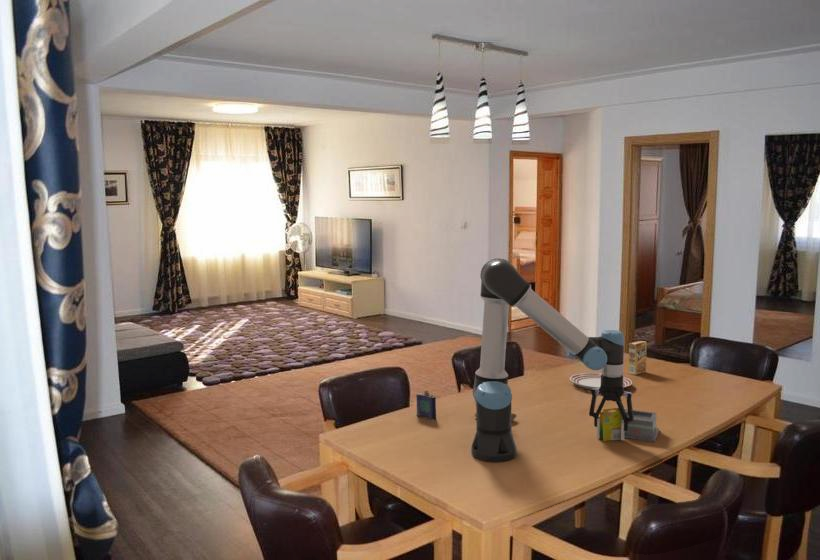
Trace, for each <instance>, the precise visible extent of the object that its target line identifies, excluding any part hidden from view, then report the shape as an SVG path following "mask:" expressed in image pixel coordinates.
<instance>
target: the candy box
mask: <svg viewBox="0 0 820 560" xmlns="http://www.w3.org/2000/svg"><path fill="white" fill-rule="evenodd" d="M647 344H648V343H647V341H643V340H637V341H632V342H629V343H628V374H630V375H639V374H643V373H646V372H647Z"/></svg>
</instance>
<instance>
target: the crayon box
mask: <svg viewBox="0 0 820 560" xmlns="http://www.w3.org/2000/svg"><path fill="white" fill-rule="evenodd" d="M599 417H600V436H599V439H600V440H601V441H602V442H607V441H609V442H610V441H618V440H620V441H622V440H621V422H622V415H621V413H620V410H619V408H618V407H614V408H613V407H612V408H602V411H601V412H600V414H599Z"/></svg>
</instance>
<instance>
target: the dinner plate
mask: <svg viewBox="0 0 820 560" xmlns="http://www.w3.org/2000/svg"><path fill="white" fill-rule="evenodd" d="M601 375H602V373H601V372H583V373H581V372H580V373H576V374H572V375H571V376H570V377H569V380H570V381H571V382H572V383H573V384H574V385H577V386H579V387H581V388H583V389H586V390H590V391H591V390H592V389H593V388H596V389H597V388H600V386H601ZM632 381H633V380H631V379H630V378H627V377H625V376H623V389H625V388H628V387H630V386H631V385H632V384H633V382H632Z"/></svg>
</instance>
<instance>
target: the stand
mask: <svg viewBox="0 0 820 560" xmlns="http://www.w3.org/2000/svg"><path fill="white" fill-rule="evenodd" d="M624 409H625V411H626V414H627V416H628V417H629V415H628V408H624ZM633 416H634V419H633V421H629V422H628V429H627V431H625V438H624V439H633V440H637V441H638V440H640V441H646V442H653V443H656V440H657V438H658V435H659V432H660V428H659V427H657V417H658V416H657V412H653V411H646V410H645V411H644V410H636V409H633ZM622 420H623V418H622Z"/></svg>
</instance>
